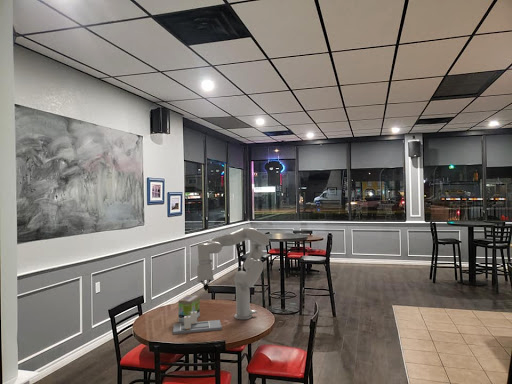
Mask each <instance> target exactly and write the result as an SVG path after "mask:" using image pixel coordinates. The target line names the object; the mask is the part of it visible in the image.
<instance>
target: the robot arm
mask: <svg viewBox="0 0 512 384" xmlns="http://www.w3.org/2000/svg"><path fill="white" fill-rule="evenodd" d="M244 241H250V245H251V251H250V252H249V254H248V256H247V257H246V259H245V260H244V263H243V268H244V270H238V271H237V272H236V273H235V275H234V278H233V280H234V284H235V299H236V300H235V302H236V303H235V304H236V306H235V307H236V308H235V309H236V313H235V314H234V315H233V316H234V318H235V319H236V320H249V319H251V318H253V314H258V311H257V310H255V309H251V297H250V296H251V295H250V294H251V293H250V292H251V291H250V290H251V289H250V288H252V287H254V286H255V284H256V283H257V281H258V280H259V278H260V276H261V274H262V272H263V270H264V263H263V261H262V260H261V259H262V257H263V247H266V246H268V245H269V243H270V238H269V236H268V235H267V234H265V233H263V232H261V231H259V230H257V229H256V228H253V227H247V226H245V227H242V228H239V229H237V230H235V231H233V232H231V233H228V234H223V235H220V236H217V237H215V238H212V239H210V240H207V241H206V242H203V243H198V245H197V255H198V256H197V257H198V258H197V260H198V264H197V269H196V272H197V273H196V275H197V283H201V284H202V285H203V290H204V291H205V292H208V291H209V284H210V283H211V282H213V281H214V280H215V278H214V272H213V266H212V265H213V264H212V262H213V259H211V255H210V254H219V253H220V252H221V251H222V250H223V247H231V246H235V245H238V244H240V243H242V242H244ZM245 270H246V271H245ZM205 281H206V282H205Z"/></svg>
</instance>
